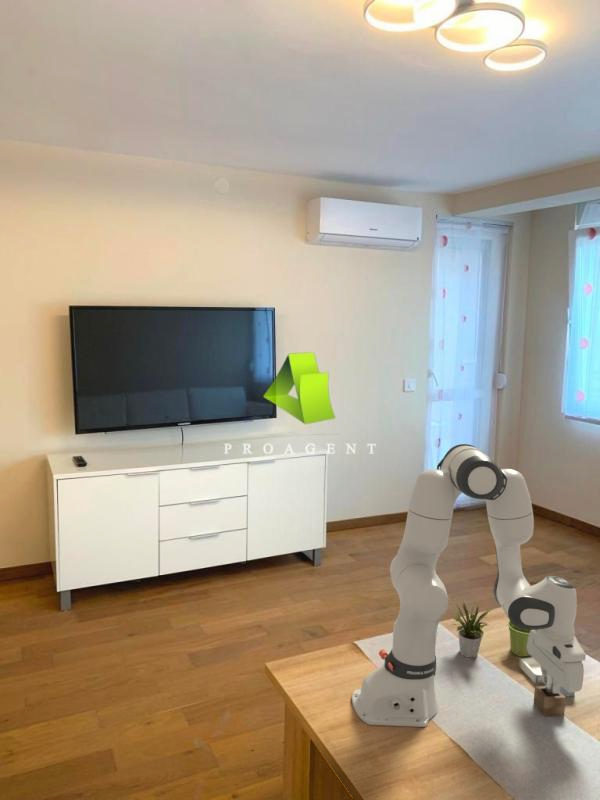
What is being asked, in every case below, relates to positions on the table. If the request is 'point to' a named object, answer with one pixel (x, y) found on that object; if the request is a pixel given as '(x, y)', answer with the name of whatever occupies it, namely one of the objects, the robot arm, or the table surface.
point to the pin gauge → (548, 684)
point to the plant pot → (518, 640)
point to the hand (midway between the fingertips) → (550, 687)
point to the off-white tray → (531, 669)
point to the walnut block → (549, 702)
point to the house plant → (470, 631)
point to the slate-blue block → (566, 692)
